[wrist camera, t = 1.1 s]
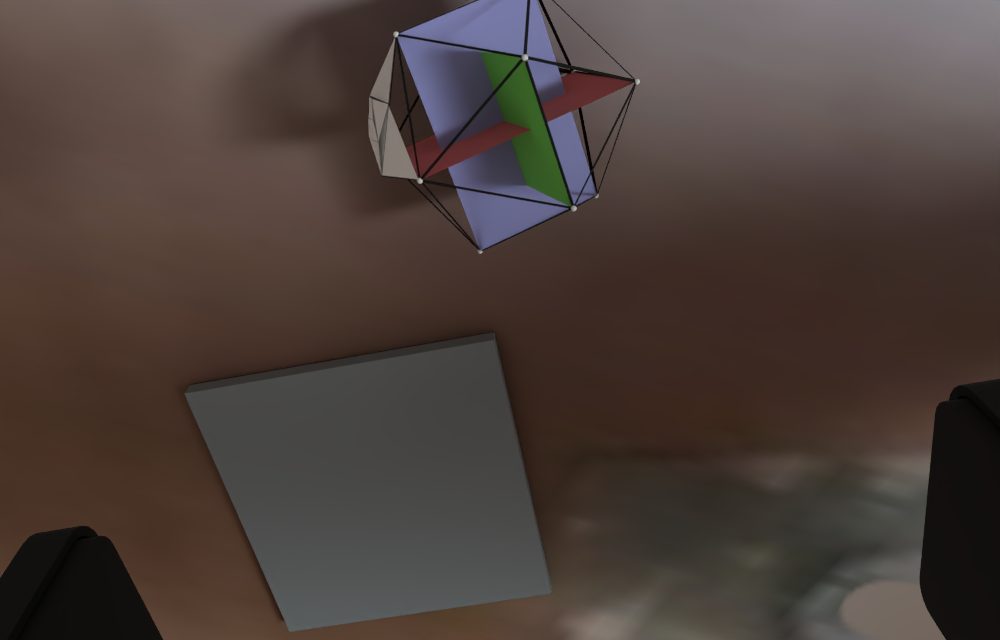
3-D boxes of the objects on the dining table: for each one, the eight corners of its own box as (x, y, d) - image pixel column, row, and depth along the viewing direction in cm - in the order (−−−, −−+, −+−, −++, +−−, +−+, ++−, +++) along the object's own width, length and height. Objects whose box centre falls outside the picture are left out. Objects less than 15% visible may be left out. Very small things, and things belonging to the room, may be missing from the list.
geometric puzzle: (644, -70, 23) (474, 25, 18) (701, 160, 26) (568, 296, 21) (456, -13, 27) (280, 75, 23) (522, 176, 30) (379, 290, 26)
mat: (494, 332, 31) (494, 340, 30) (551, 583, 37) (551, 593, 36) (189, 385, 32) (184, 393, 32) (292, 621, 38) (289, 631, 37)
